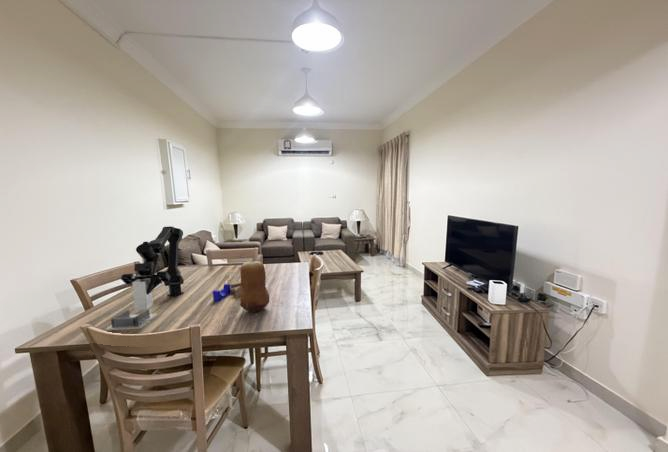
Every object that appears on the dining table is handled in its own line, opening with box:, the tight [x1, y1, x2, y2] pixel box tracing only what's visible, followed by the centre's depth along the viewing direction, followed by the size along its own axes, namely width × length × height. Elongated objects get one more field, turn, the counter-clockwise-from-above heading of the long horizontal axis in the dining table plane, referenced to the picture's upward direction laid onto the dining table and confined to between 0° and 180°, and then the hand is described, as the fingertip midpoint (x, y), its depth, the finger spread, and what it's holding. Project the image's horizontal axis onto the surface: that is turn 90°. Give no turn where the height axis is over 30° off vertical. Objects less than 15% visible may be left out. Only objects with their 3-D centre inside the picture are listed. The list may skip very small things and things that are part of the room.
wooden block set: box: [229, 280, 242, 299], centre depth 159 cm, size 17×6×18 cm
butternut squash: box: [239, 260, 270, 313], centre depth 129 cm, size 14×13×25 cm
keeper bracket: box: [105, 309, 159, 331], centre depth 120 cm, size 13×14×4 cm
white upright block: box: [131, 278, 154, 311], centre depth 120 cm, size 5×5×13 cm
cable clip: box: [212, 283, 232, 303], centre depth 149 cm, size 12×4×6 cm, turn 170°
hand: (141, 294), depth 119 cm, fingers closed on white upright block, 5 cm apart
